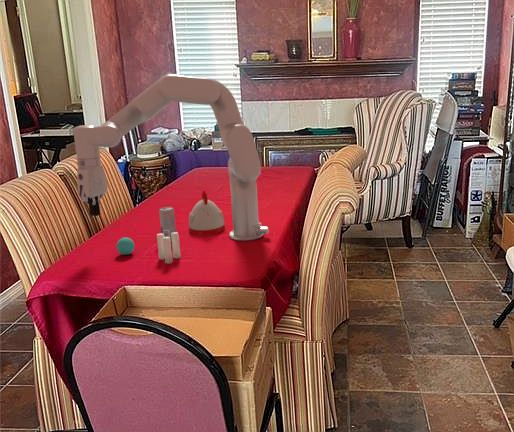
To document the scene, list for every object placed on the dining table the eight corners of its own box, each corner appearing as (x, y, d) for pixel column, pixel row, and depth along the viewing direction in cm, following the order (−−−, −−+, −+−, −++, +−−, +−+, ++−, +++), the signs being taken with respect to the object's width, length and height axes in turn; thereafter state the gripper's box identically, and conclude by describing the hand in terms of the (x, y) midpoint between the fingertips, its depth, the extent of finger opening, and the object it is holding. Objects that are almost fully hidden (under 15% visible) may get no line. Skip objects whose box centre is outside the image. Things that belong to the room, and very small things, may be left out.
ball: (138, 252, 195) (136, 235, 193) (128, 258, 190) (126, 241, 188) (124, 250, 197) (122, 234, 196) (114, 256, 192) (111, 239, 190)
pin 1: (173, 261, 184) (171, 237, 182) (170, 264, 182) (167, 239, 180) (167, 260, 185) (165, 236, 183) (163, 263, 183) (161, 238, 181)
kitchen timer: (192, 236, 210) (188, 197, 206) (186, 226, 223) (183, 189, 218) (228, 231, 213) (225, 193, 209) (220, 222, 226) (218, 186, 222)
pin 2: (181, 256, 189) (179, 232, 186) (178, 258, 186) (175, 234, 184) (175, 255, 190) (173, 231, 187) (172, 258, 187) (169, 234, 185)
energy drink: (169, 236, 210) (166, 205, 207) (179, 238, 207) (176, 207, 204) (159, 240, 206) (155, 209, 203) (168, 242, 203) (165, 211, 200)
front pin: (167, 257, 188) (165, 233, 186) (163, 260, 186) (161, 235, 184) (161, 257, 189) (159, 233, 187) (157, 259, 187) (155, 235, 185)
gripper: (82, 167, 179) (89, 222, 184) (112, 159, 192) (117, 210, 197) (64, 166, 182) (71, 220, 187) (95, 158, 195) (100, 208, 200)
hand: (95, 215), depth 192 cm, fingers closed
